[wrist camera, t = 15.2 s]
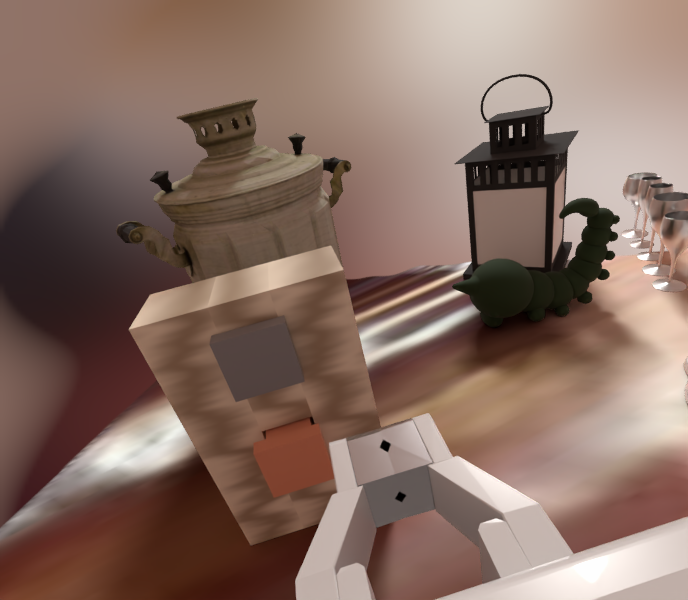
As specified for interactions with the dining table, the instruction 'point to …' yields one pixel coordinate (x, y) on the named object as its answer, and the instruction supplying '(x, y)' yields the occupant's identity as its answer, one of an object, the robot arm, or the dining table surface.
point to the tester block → (270, 408)
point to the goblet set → (658, 224)
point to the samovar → (241, 200)
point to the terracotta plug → (293, 457)
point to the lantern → (518, 192)
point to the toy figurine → (544, 274)
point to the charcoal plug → (257, 358)
